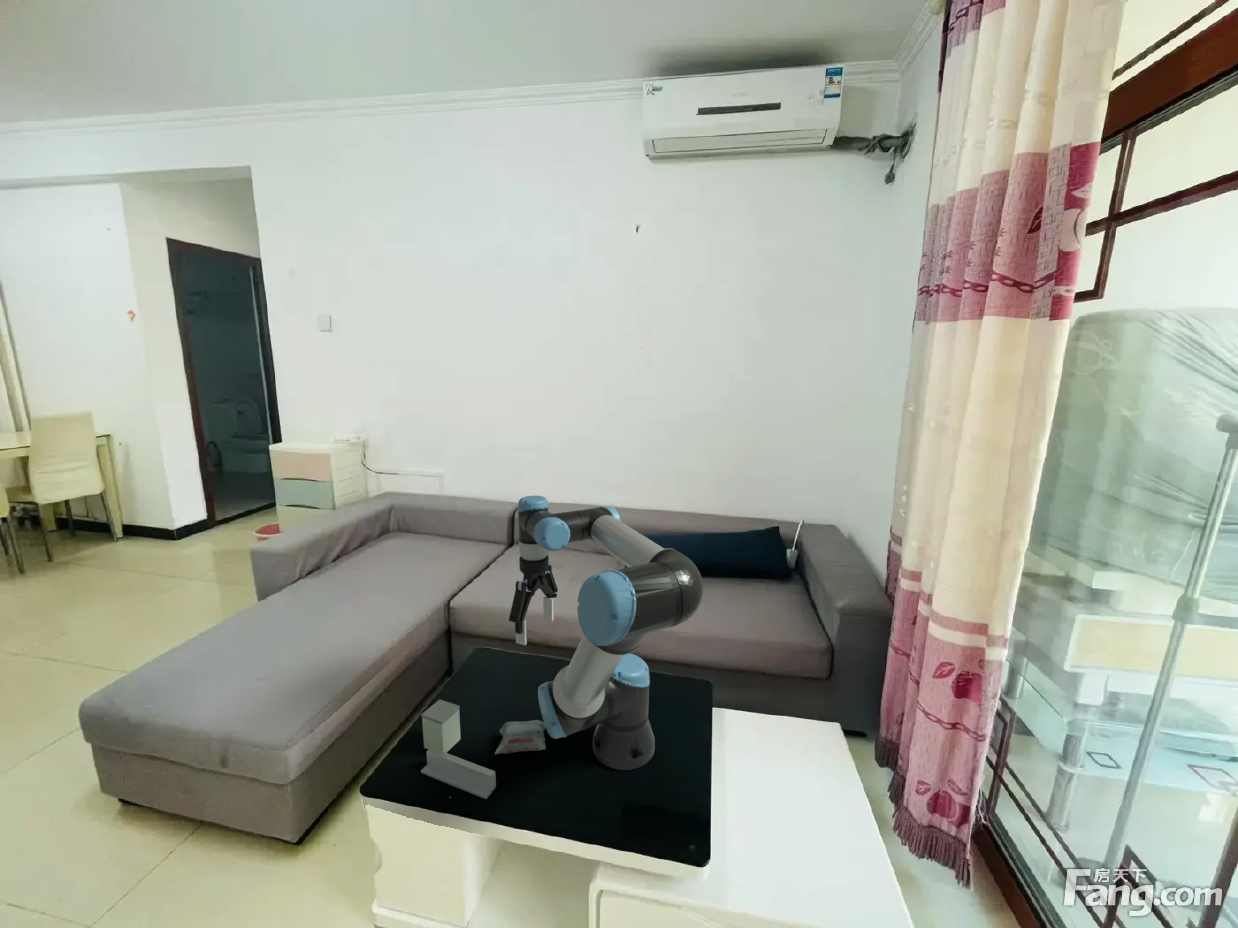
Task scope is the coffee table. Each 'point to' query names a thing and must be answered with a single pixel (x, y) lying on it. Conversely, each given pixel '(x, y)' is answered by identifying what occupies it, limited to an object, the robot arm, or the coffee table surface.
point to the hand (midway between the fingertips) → (535, 631)
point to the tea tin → (441, 726)
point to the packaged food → (522, 737)
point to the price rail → (460, 773)
